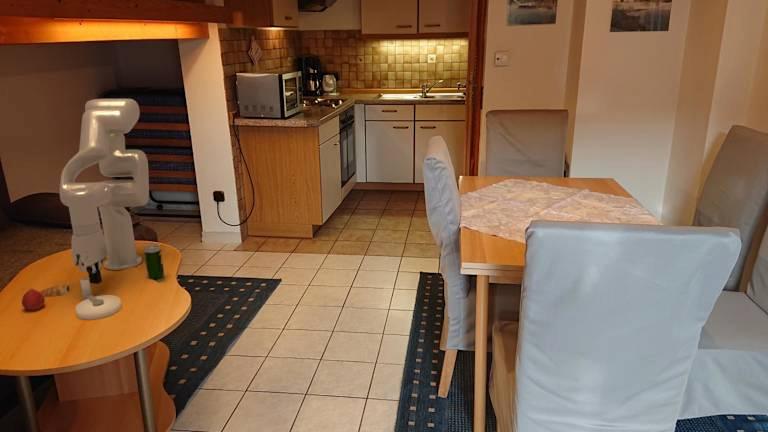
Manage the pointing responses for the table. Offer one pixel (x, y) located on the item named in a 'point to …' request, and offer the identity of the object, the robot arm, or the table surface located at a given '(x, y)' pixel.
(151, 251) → the beer can
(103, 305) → the dial
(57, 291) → the pastry
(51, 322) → the table surface
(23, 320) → the table surface
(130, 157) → the robot arm
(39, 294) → the onion
